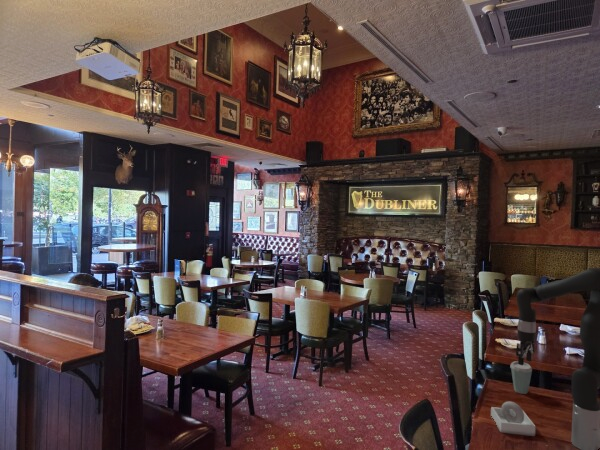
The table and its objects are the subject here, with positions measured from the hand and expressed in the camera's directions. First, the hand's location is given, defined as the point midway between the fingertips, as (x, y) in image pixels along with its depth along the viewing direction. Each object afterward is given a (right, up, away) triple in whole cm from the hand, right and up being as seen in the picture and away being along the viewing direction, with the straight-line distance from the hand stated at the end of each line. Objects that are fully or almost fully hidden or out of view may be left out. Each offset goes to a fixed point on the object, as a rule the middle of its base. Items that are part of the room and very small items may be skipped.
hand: (524, 362), depth 188 cm
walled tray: (-11, -25, -10) cm, 29 cm away
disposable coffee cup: (+12, -25, +26) cm, 38 cm away
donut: (-11, -25, -10) cm, 29 cm away
